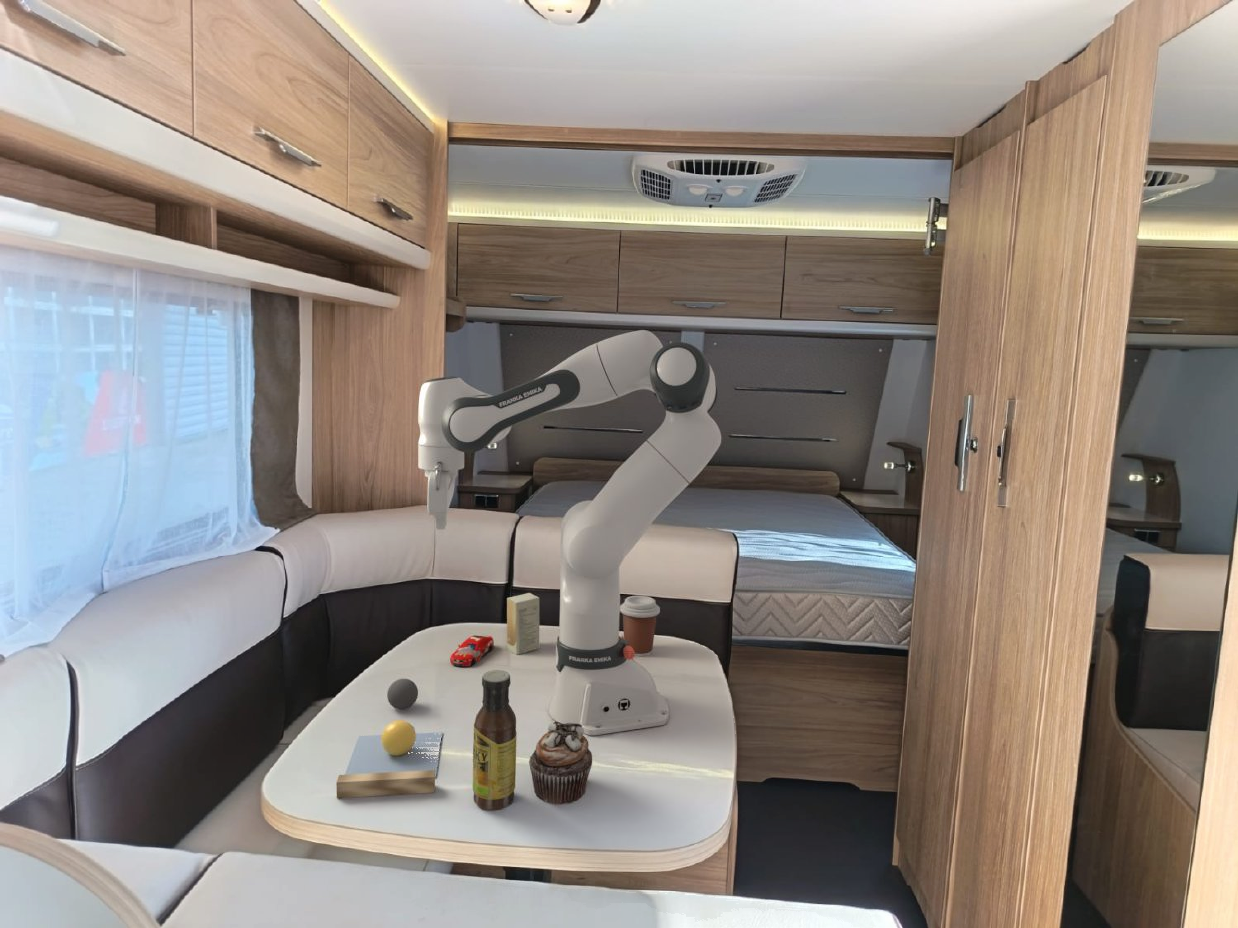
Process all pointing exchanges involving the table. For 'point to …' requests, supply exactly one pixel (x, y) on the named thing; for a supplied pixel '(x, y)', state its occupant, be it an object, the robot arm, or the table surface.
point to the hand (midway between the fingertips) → (441, 527)
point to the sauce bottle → (494, 744)
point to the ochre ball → (398, 737)
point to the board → (392, 756)
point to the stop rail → (385, 783)
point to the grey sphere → (402, 694)
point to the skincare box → (522, 623)
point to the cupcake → (561, 764)
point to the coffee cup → (639, 623)
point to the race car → (472, 650)
